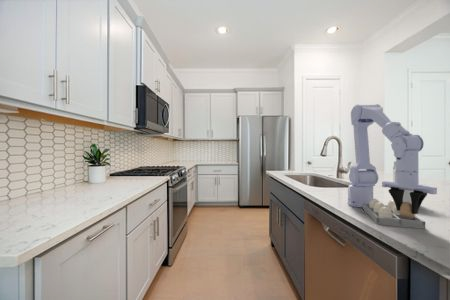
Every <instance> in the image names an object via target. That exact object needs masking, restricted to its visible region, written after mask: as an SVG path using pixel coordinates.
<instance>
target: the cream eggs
mask: <svg viewBox="0 0 450 300" xmlns="http://www.w3.org/2000/svg"><path fill="white" fill-rule="evenodd" d="M384 205H385V204H384V203H383V202H380V200H379V199H377V198H373V199H372V200H371V201H370V203H369V208H374V212H379V217H384V218H392V212H391V210H390V209H393V213H394V214H400V211H398V210H397V209H396V205H395V202H394V200H393V199H391V200H389V202H388V203H387V207H385V206H384Z"/></svg>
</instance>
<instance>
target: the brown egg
mask: <svg viewBox="0 0 450 300" xmlns="http://www.w3.org/2000/svg"><path fill="white" fill-rule="evenodd" d="M400 216H402V217H407V218H415V216H416V214H412V204H411V203H410V202H403V203H402V205H401V206H400Z"/></svg>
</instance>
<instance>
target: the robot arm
mask: <svg viewBox="0 0 450 300" xmlns="http://www.w3.org/2000/svg"><path fill="white" fill-rule="evenodd" d="M350 122H351V125H352V126H353V139H354V153H355V163H354V164H353V165H352V166H351V167H349V174H348V179H349V183H351V184H349V185H348V187H347V203H348V204H349V206H350V207H354V208H355V207H356V208H358V207H359V208H363V204H369V203H370V201H371V200H372V199H374V187H375V186H376V184H377V183H378V181H379V174H378V171H377V167H376V166H375V165H373V164H372V163H371V160H370V157H371V156H370V145H369V132H368V131H369V130H368V129H369V126H371V125H373V124H374V123H376V124H377V125H378V126H379V127H380V128H382V129H381V133H382V135H384V136H385V137H386V139H388V141H389V142H390V143H391V144H390V145H391V149H392V151H393V156H394V157H395V162H396V182H393V181H386V180H385V181H381V187H382V188H390V189H388V193H389V194H390V196H391V198H392V200H394V202H395V205H396V209H397V210H398V211H400V206H401V205H402V203H403V195H404V191H405V190H409V191H414V192H410V197H411V202H412V214H415V215H418V214H419V210H420V208H421V206H422V204H423V202H424V200H425V198H427V195H428V194H430V195H437V194H438V191H437V190H438V188H437V187H435V186H428V185H421V184H419V152H421V151H422V150H423V148H424V144H425V143H424V140H423V138H422V137H421V136H420V135H419V134H413V133H411V132H410V131H408V130H407V129H406V128H405V127H404V126H402V123H401V122H399V121H391V119H390V118H389V117H388V116H387V115H386V114H385V113H384V107H382V106H381V105H380V104H378V103H375V104H355V105H354V106H353V107H352V109H351V111H350ZM400 187H402V188H400ZM407 188H411V189H407Z"/></svg>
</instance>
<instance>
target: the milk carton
mask: <svg viewBox="0 0 450 300" xmlns="http://www.w3.org/2000/svg"><path fill="white" fill-rule="evenodd" d="M392 182H396V161H393V167H392ZM400 188H402V187H400ZM407 189H411V188H407ZM410 192H414V191H409V190H405V191H404V195H403V202H410V203H411V204H412V202H411V197H410Z"/></svg>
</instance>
